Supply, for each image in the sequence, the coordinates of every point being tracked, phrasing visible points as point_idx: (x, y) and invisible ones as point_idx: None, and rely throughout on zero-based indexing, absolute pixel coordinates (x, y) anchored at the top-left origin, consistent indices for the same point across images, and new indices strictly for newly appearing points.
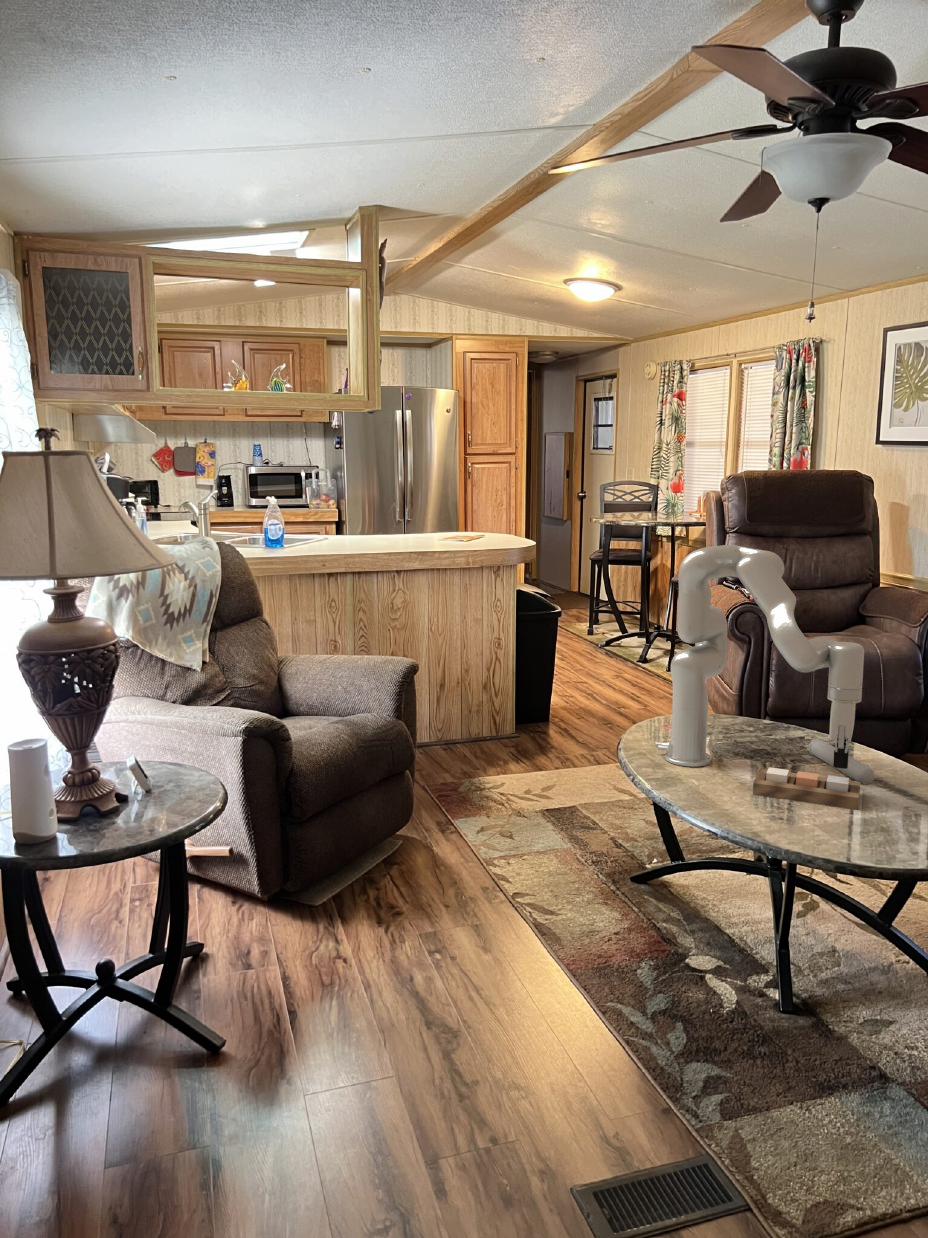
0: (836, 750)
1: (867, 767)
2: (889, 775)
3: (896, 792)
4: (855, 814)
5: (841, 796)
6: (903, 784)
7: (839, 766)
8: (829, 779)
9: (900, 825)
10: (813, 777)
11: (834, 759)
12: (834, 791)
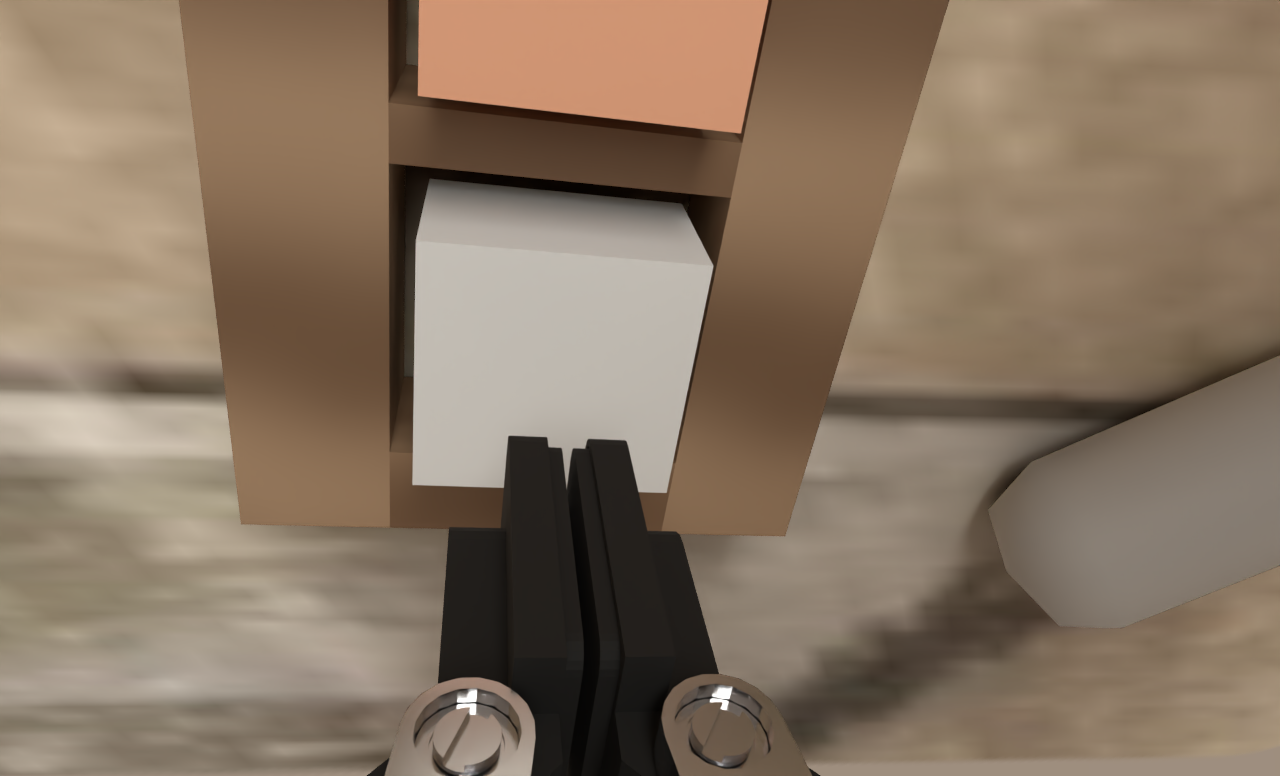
0: (397, 758)
1: (1116, 616)
2: (1211, 634)
3: (844, 669)
4: (130, 418)
5: (229, 360)
6: (1021, 699)
7: (503, 525)
8: (520, 279)
9: (75, 694)
10: (528, 39)
11: (514, 534)
12: (338, 295)
